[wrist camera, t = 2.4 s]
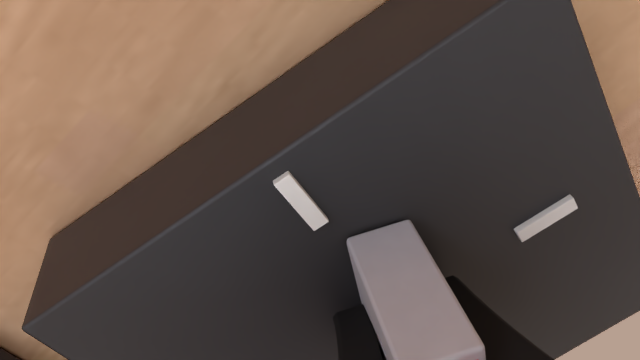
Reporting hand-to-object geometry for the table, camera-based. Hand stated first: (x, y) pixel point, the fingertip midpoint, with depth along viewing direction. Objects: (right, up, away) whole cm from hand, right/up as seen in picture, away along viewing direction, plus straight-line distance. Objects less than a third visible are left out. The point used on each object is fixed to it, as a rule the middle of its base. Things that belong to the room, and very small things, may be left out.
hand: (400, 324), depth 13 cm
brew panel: (-1, +2, +3) cm, 3 cm away
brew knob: (0, 0, 0) cm, 0 cm away
